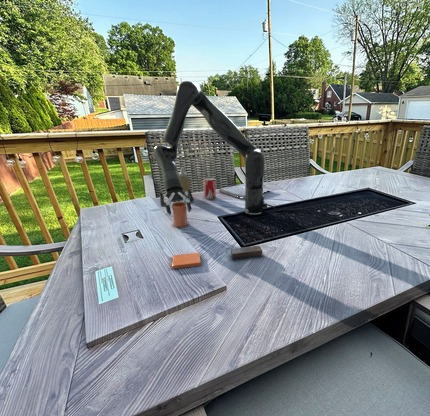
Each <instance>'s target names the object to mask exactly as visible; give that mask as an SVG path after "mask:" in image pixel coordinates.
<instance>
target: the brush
mask: <svg viewBox="0 0 430 416" xmlns="http://www.w3.org/2000/svg"><path fill="white" fill-rule="evenodd" d="M262 255H263V248H261V246H260V245H250V246H243V247H234V248H230V256H231V258H232V261H237V260H239V261H240V260H246V259H254V258H262Z"/></svg>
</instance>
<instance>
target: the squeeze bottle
mask: <svg viewBox="0 0 430 416" xmlns="http://www.w3.org/2000/svg"><path fill="white" fill-rule="evenodd" d="M178 174H179V176H180V180H181V184H182V188H183V191H184V192H187V191H188V190H190V191H191V192H192V189H191V183H190V178H189V176H188V172H186V171H185V168H184V166H181V168H180V172H178ZM184 196H185V197H186V198H189V197H188V196H187V195H186V194H185V195H184Z"/></svg>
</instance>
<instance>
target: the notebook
mask: <svg viewBox="0 0 430 416" xmlns="http://www.w3.org/2000/svg"><path fill="white" fill-rule="evenodd" d="M238 186H245V183H242V184H241V183H240V184H237V185H232V186H227V187H226V186H225V187H222V188H219V192H220V193H222V194H224V195H228V196H230V197H233V198H236V199H238V200H245V189H244V188H243V187H238ZM237 196H238V197H237ZM240 197H243V198H240Z"/></svg>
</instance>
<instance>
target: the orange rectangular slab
mask: <svg viewBox="0 0 430 416" xmlns="http://www.w3.org/2000/svg"><path fill="white" fill-rule="evenodd" d="M201 265H202V262H201V255H200V252H192V253H183V254H174V255H173V254H172V269H173V270H175V269H182V268H190V267H198V266H199V267H201Z"/></svg>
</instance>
